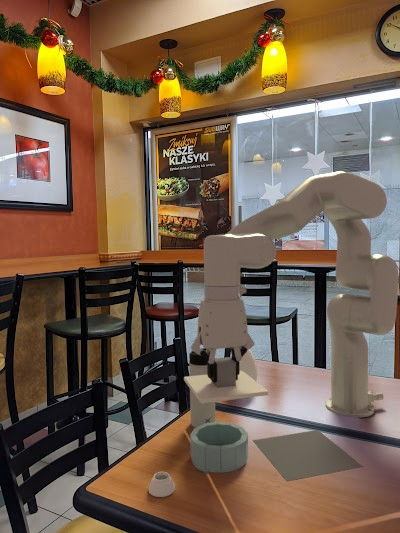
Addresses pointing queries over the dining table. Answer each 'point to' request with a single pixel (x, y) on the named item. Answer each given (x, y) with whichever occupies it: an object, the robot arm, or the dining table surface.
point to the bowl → (219, 447)
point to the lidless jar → (161, 485)
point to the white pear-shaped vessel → (248, 365)
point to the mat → (305, 455)
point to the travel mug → (198, 411)
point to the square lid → (224, 384)
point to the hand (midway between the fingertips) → (223, 378)
